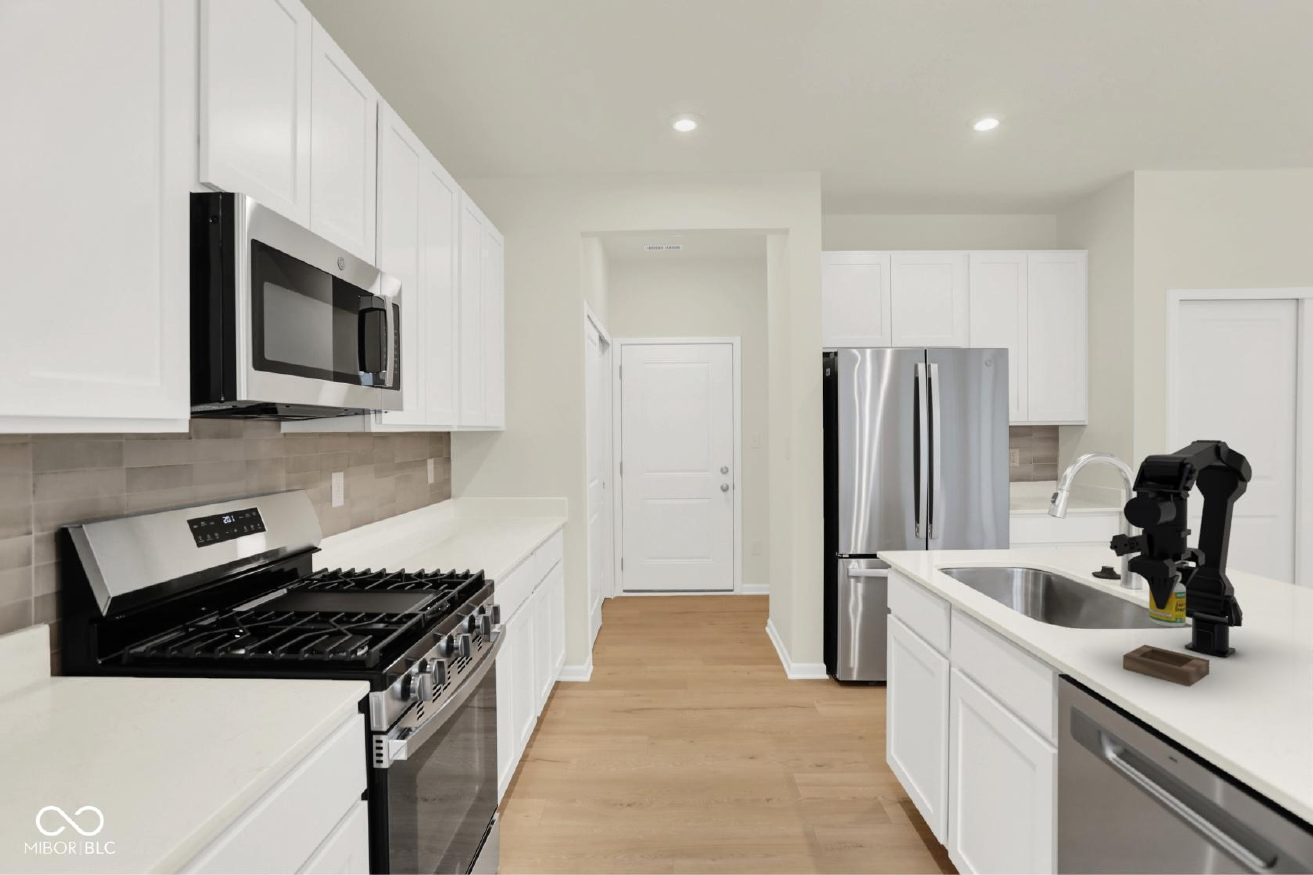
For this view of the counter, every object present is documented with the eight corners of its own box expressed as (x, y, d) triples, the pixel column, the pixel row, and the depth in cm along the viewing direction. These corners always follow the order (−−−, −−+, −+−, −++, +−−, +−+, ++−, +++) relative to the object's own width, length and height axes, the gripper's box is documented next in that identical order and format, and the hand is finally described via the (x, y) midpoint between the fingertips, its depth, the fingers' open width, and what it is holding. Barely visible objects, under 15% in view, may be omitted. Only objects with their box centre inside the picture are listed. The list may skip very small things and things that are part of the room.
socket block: (1144, 657, 126) (1144, 644, 126) (1209, 673, 118) (1209, 659, 118) (1123, 668, 121) (1123, 655, 121) (1189, 686, 112) (1189, 672, 112)
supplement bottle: (1155, 616, 123) (1156, 566, 122) (1190, 623, 118) (1190, 572, 118) (1144, 621, 120) (1144, 570, 119) (1179, 629, 115) (1179, 576, 115)
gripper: (1136, 513, 130) (1136, 589, 131) (1095, 522, 120) (1095, 604, 121) (1206, 520, 121) (1205, 601, 122) (1168, 530, 111) (1167, 619, 111)
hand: (1166, 606), depth 119 cm, fingers closed on supplement bottle, 5 cm apart
